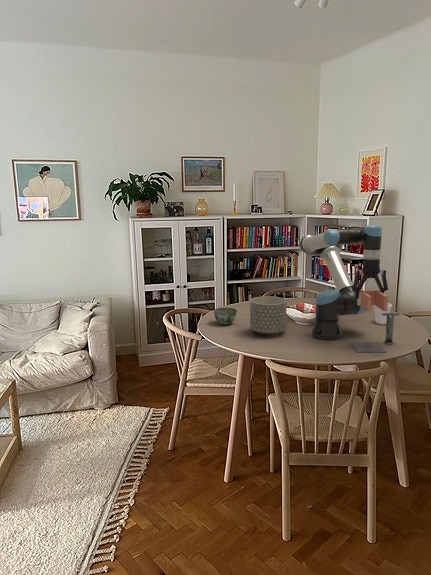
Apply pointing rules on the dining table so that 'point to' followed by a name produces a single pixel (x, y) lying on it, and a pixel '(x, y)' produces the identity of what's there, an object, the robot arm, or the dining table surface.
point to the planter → (268, 315)
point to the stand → (389, 327)
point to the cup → (378, 314)
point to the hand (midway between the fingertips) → (369, 305)
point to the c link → (373, 300)
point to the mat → (367, 347)
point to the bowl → (225, 315)
